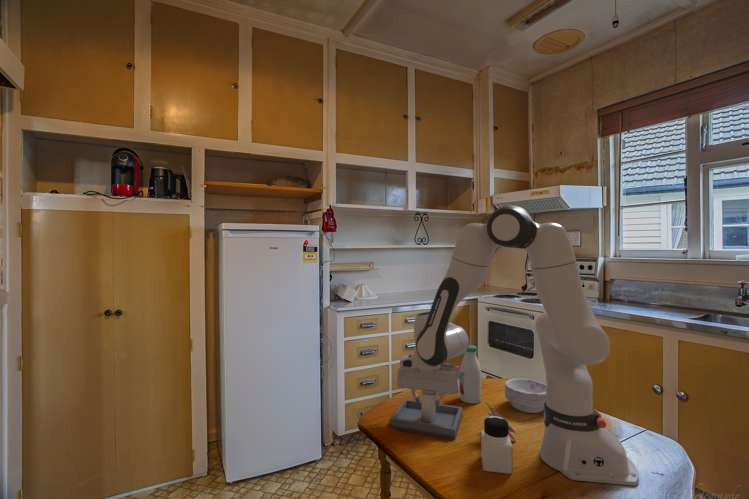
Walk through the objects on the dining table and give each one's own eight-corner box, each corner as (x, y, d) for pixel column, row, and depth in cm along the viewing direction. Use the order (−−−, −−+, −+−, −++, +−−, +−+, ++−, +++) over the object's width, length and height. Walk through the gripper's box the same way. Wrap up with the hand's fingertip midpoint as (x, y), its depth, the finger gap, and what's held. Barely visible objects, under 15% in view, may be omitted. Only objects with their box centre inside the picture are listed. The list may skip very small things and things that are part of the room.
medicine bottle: (512, 474, 94) (512, 427, 94) (483, 471, 96) (483, 424, 95) (508, 458, 101) (508, 414, 101) (481, 455, 103) (480, 412, 102)
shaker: (436, 417, 123) (437, 387, 123) (433, 423, 119) (435, 392, 118) (422, 414, 125) (424, 384, 124) (419, 420, 121) (420, 390, 120)
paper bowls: (554, 404, 135) (554, 382, 135) (547, 421, 122) (547, 397, 122) (510, 395, 143) (510, 374, 143) (499, 410, 130) (499, 387, 130)
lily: (516, 458, 103) (528, 424, 105) (475, 436, 106) (488, 403, 108) (507, 448, 115) (518, 418, 117) (470, 429, 118) (482, 400, 120)
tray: (462, 416, 126) (462, 407, 126) (455, 439, 111) (455, 429, 111) (404, 407, 133) (404, 398, 133) (390, 428, 118) (390, 418, 118)
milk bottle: (483, 398, 140) (483, 345, 140) (477, 406, 134) (477, 350, 133) (463, 394, 144) (463, 342, 144) (456, 401, 138) (456, 347, 138)
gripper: (461, 361, 121) (461, 404, 121) (400, 355, 128) (400, 395, 128) (458, 367, 115) (458, 412, 115) (395, 360, 122) (395, 402, 123)
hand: (427, 403), depth 122 cm, fingers open, 5 cm apart
